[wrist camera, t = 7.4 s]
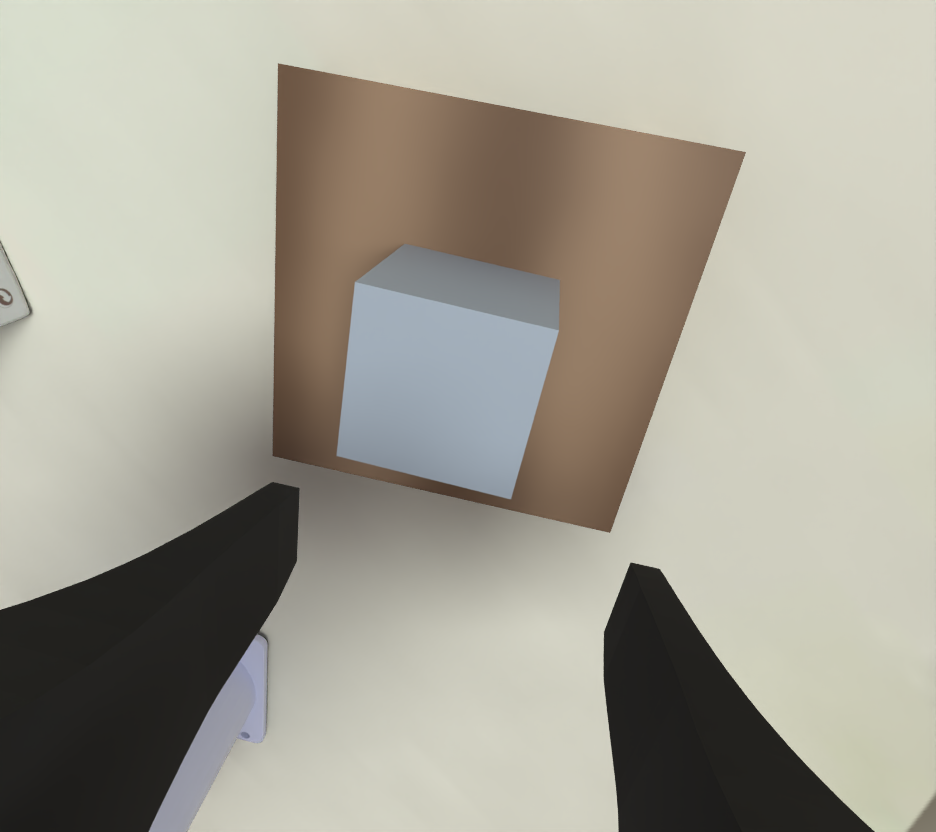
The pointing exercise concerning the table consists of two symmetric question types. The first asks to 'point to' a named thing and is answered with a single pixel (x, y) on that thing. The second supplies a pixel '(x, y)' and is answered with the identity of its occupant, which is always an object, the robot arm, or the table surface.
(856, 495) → the table surface
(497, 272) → the slate cube
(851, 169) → the table surface
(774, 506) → the table surface
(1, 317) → the skincare box
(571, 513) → the walnut base
